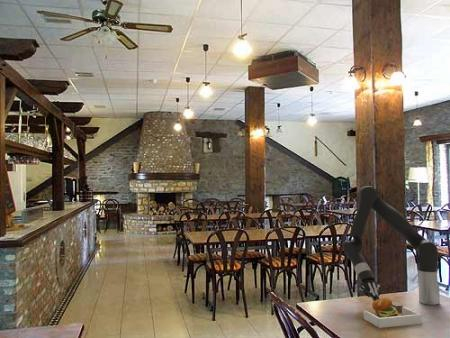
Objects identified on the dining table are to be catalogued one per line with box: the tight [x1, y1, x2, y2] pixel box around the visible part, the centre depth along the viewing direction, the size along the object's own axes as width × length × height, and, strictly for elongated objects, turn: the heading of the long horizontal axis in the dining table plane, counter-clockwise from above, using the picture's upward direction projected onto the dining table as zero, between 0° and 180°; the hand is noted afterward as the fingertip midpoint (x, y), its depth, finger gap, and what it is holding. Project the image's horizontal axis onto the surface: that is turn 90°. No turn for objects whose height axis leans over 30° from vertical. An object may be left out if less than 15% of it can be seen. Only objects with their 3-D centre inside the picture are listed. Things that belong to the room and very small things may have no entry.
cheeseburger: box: [371, 297, 399, 318], centre depth 188 cm, size 10×11×10 cm
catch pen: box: [363, 306, 423, 329], centre depth 182 cm, size 22×12×4 cm, turn 102°
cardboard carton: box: [391, 301, 404, 313], centre depth 198 cm, size 4×7×3 cm, turn 12°
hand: (378, 303), depth 193 cm, fingers closed
